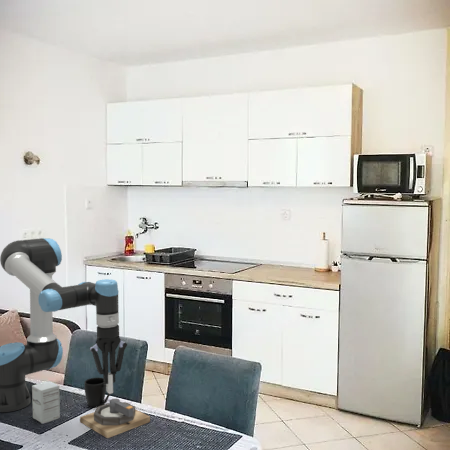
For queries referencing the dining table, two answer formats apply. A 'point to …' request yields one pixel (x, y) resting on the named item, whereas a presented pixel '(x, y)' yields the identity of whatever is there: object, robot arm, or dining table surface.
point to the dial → (117, 409)
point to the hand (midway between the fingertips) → (109, 392)
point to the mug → (95, 392)
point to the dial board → (114, 428)
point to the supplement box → (46, 402)
